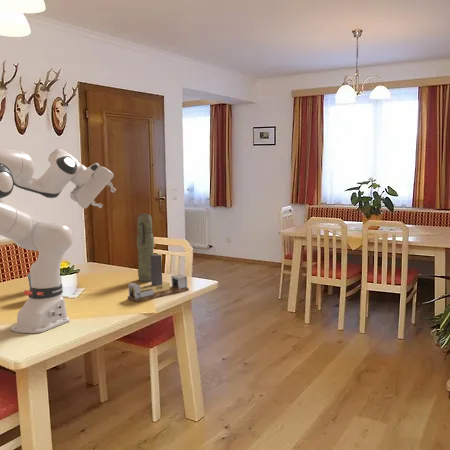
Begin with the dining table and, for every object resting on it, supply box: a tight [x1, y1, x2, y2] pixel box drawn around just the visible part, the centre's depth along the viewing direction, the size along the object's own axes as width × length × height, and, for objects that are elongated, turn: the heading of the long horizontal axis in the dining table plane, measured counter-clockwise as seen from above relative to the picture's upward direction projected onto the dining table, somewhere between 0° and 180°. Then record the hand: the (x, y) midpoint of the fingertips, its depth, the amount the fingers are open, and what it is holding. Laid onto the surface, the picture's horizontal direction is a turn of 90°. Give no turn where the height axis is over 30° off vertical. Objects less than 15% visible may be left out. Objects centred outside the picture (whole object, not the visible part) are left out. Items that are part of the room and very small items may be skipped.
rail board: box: [127, 285, 190, 303], centre depth 227 cm, size 29×8×1 cm, turn 132°
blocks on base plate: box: [133, 253, 171, 297], centre depth 223 cm, size 18×4×18 cm, turn 132°
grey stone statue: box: [136, 213, 155, 283], centre depth 253 cm, size 9×12×35 cm
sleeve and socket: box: [128, 273, 188, 299], centre depth 226 cm, size 29×6×7 cm, turn 132°
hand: (108, 199), depth 212 cm, fingers open, 8 cm apart
